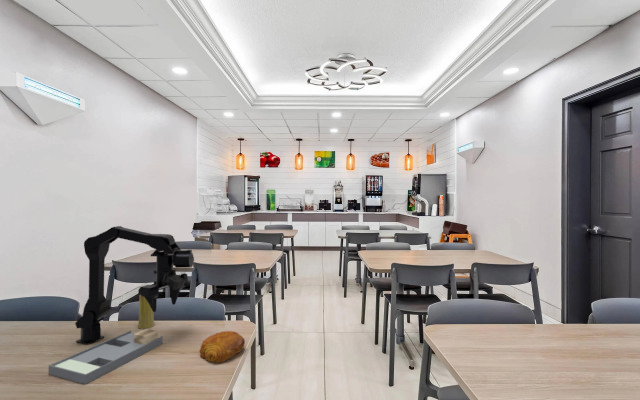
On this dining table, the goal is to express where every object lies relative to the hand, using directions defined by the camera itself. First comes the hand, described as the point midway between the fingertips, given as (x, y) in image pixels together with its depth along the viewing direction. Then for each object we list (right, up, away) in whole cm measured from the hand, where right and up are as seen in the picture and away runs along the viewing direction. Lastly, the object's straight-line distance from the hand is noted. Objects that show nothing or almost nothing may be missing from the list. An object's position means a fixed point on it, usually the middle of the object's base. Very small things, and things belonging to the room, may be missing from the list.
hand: (164, 307), depth 125 cm
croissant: (+25, -13, -11) cm, 30 cm away
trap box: (-11, -12, -15) cm, 22 cm away
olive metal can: (-14, -12, +13) cm, 23 cm away
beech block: (-4, -10, -6) cm, 12 cm away
